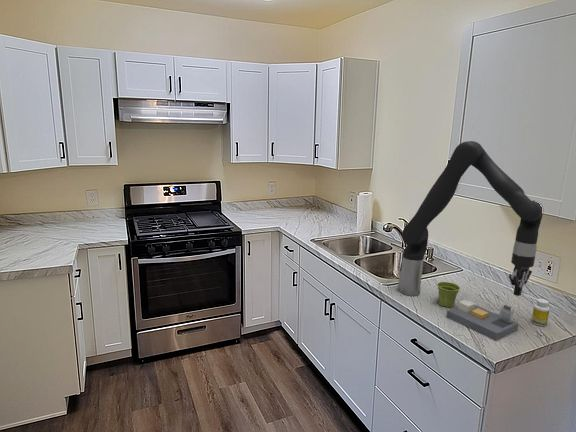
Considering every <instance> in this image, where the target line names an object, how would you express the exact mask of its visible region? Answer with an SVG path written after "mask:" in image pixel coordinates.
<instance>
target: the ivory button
mask: <svg viewBox="0 0 576 432" xmlns="http://www.w3.org/2000/svg"><path fill="white" fill-rule="evenodd" d="M475 305H476V304H475V303H474V302H471V301H470V300H467V299H463V300H460V301H458V304H457V307H458V309H459V310H461V311H463V312H465V313H471V312H472V311H473V310H474V308H475Z"/></svg>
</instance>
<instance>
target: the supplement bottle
mask: <svg viewBox="0 0 576 432" xmlns="http://www.w3.org/2000/svg"><path fill="white" fill-rule="evenodd" d="M549 314H550V307H549V300H547V299H544V298H537V299H536V303H535V304H533V306H532V313H531V317H530V318H531V319H530V322H531V323H532V324H534V325H536V326H539V327H545V326H547V323H548V319H549Z"/></svg>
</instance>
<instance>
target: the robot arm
mask: <svg viewBox="0 0 576 432" xmlns="http://www.w3.org/2000/svg"><path fill="white" fill-rule="evenodd" d="M453 150H454V151H453V152H452V155H451V157H450V158H449V161H448V162H447V165H446V166H445V168H444V169H443V171H442V173H441V174H440V175H439V176H438V178H437V179H436V181H435V182H434V184H433V185H432V186H431V188H430V190H429V191H428V193H427V194H426V196H425V198H424V199H423V200H422V202H421V204H420V206H419V207H418V209H417V210H416V213H415V214H414V215H413V217H412V218H411V219H410V220H409V222H408V223H407V224H406V226H404V228H403V230H402V233H401V238H402V240H403V242H404V243H405V244H406V246H405V248H404V249H403V250H402V251H403V252H402V259H401V260H402V262H401V270H399V273H398V281H397V282H398V283H397V291H399V293H401V294H402V295H404V296H409V297H417V296H419V295H420V293H421V284H422V276H423V267H424V260H425V259H424V258H425V257H424V256H425V254H426V251H427V248H428V241H429V230H428V226H429V225H430V224H431V222H433V220H435V219H436V218H437V216H439V215H440V214H441V213H442V212H443V211H444V210H445V208H446V207H447V206H448V204H449V203H450V201H451V200H452V199H453V197H454V195H455V193H456V192H457V188H458V185H459V182H460V180H461V178H462V177H463V176H464V174H465V173H466V172H467V170H468V169H469V167H471V166H472V167H474V168H475V169H476V170H478V171H479V172H480V173H481V174H482V175H483V176H484V178H485V179H486V181H487V182H488V183H489V185H490V186H491V187H492V189H493V190H494V191H495V192H496V193H497V194H498V195H499V196H500V197H501V198H502V199H503V200H504V201H506V202H507V203H508V205H509V206H510V208H512V210H513V211H514V212H515V214H516V215H517V216H518V217H519V218H520V222H519V225H518V226H517V227H518V228H517V230H516V234H515V240H514V244H513V248H512V254H511V261H510V262H511V265H513V266H514V268H513V270H512V271H513V272H512V274H511V273H510V274H509V275H508V278H509V281H510V284H511V285H512V286H513V287H514V288H513V295H514V296H517V297H519V296H522V291H523V287H524V286H525V285H526V284H527V283H528V281H529V279H530V277H531V275H532V273H533V271H532V270H531V269H530V268H532V267H534V265H535V260H536V253H537V243H538V237H539V228H540V226H541V222H542V219H543V215H544V213H543V214H542V207H543V206H542V207H541V206H540V204H541V203H540V202H539V203H540V204H539V203H537V202H538V201H537V202H535V201H536V200H531V199H530V197H528V196H527V194H525V191H524V190H523V188H522V187H521V186H520V185H519V184H518V183H516V181H515V180H513V179H512V178H511V177H510V176H509V175H508V174H507V173H506V172H504V171H503V170H502V168H500V167H499V166H498V165H497V163H496V162H494V161H493V159H492V158H491V157H490V155H489V154H488V153H487V152H486V150H485V149H484V147H483V146H482V145H481V144H480V143H479V142H477V141H475V140H469V141H468V140H467V141H463V142H461V143H459V144H458V145H457V146H456V147H455V148H454V149H453Z"/></svg>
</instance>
